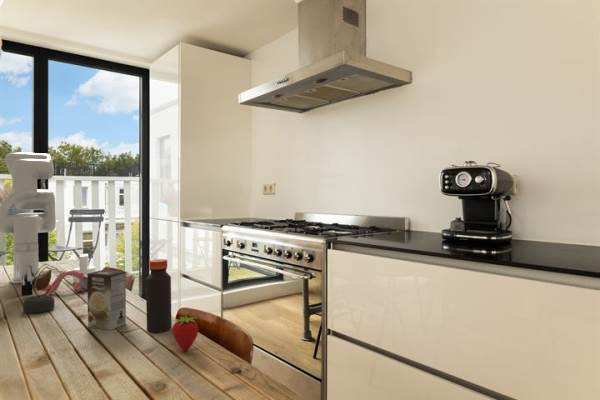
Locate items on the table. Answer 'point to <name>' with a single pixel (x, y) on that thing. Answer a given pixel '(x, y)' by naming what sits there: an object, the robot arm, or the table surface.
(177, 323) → the strawberry
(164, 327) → the bottle
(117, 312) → the coffee box
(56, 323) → the table surface
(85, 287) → the charging dock
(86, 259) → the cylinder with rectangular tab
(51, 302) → the smart speaker
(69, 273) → the anatomy model
